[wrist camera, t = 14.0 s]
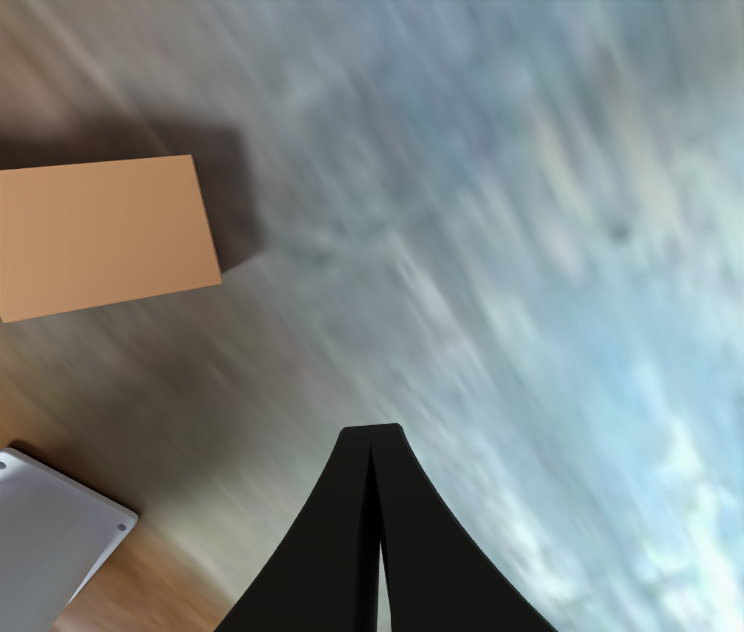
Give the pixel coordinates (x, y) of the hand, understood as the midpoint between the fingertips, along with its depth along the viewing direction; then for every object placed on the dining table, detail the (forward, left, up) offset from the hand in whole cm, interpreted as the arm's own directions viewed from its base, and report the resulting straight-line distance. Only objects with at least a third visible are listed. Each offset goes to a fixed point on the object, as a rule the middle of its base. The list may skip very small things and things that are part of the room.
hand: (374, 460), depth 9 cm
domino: (-1, +8, -10) cm, 12 cm away
